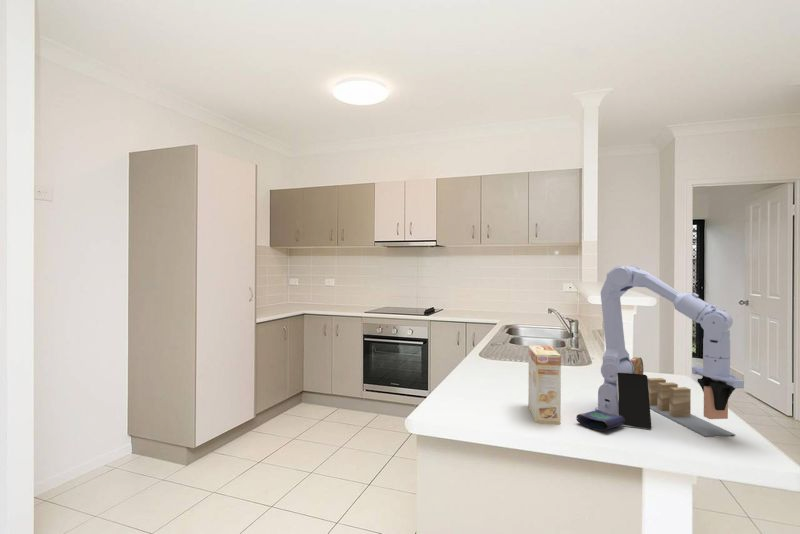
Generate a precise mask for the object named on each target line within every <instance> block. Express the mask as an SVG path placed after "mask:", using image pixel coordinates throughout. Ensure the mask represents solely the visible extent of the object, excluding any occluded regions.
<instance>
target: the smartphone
mask: <svg viewBox="0 0 800 534" xmlns="http://www.w3.org/2000/svg"><path fill="white" fill-rule="evenodd" d="M647 378H648V376H647V375H646V374H643V375H642V374H630V373H617V376H616V379H617V380H616V384H617V394H618V415H620V416H623V417H624V419H625V423H624V424H623V425H619V426H620V427H628V428H636V429H643V430H651V429H652V416H651V409H650V403H649V385H648V379H647Z"/></svg>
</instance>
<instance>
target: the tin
mask: <svg viewBox="0 0 800 534" xmlns="http://www.w3.org/2000/svg"><path fill="white" fill-rule="evenodd" d="M630 361H631V362H632V364H633V366H634V371H633V374H642V375H644V362H643V359H642V357H632V358H630Z"/></svg>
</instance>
